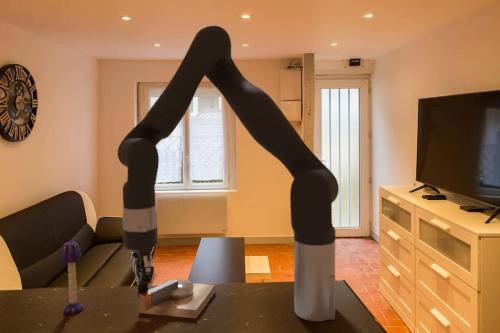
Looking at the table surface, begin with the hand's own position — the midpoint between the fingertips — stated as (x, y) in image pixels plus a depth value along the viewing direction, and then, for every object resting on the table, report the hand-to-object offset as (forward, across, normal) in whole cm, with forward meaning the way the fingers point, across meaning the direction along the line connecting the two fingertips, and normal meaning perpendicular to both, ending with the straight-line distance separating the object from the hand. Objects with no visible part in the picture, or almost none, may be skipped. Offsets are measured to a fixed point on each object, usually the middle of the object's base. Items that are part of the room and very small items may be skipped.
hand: (143, 297), depth 88 cm
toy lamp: (+4, -9, -14) cm, 17 cm away
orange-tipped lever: (+1, +1, +6) cm, 6 cm away
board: (+4, -1, +9) cm, 10 cm away
